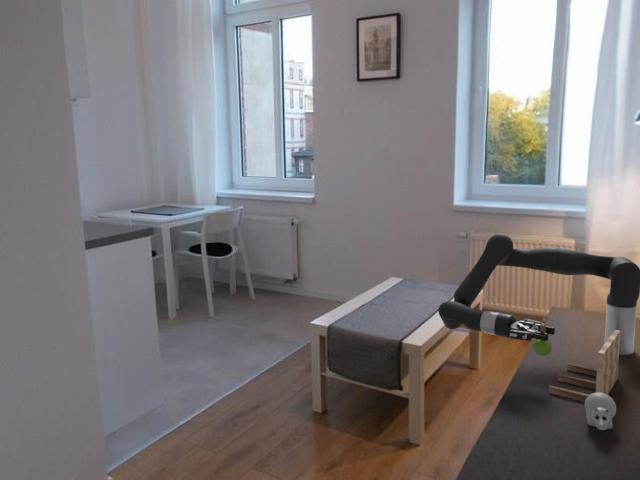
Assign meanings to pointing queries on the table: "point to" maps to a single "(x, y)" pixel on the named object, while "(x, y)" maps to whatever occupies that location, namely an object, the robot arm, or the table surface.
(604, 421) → the chubby cartoon animal
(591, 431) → the table surface
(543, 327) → the snail figurine
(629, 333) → the robot arm
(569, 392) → the lane rack
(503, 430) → the table surface
